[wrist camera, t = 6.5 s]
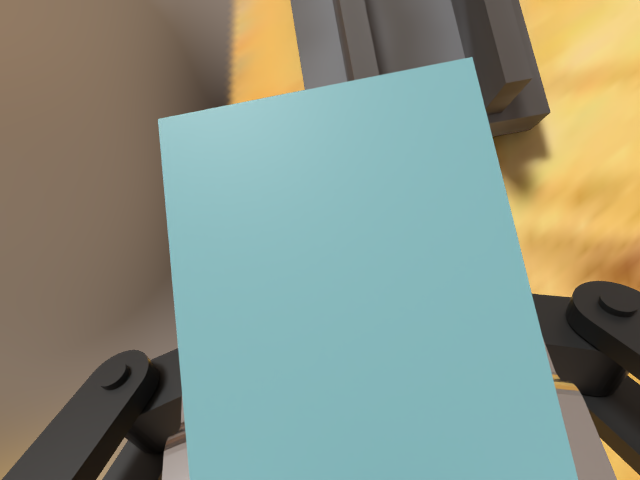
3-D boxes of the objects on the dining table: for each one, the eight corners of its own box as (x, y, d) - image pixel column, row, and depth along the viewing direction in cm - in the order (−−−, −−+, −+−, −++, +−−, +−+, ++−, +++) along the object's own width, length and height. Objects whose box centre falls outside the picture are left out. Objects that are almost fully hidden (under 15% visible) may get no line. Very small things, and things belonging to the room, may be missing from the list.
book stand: (480, -52, 22) (521, -151, 17) (529, 129, 20) (591, 77, 15) (289, -12, 22) (273, -96, 17) (318, 167, 20) (309, 129, 15)
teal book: (379, 227, 16) (472, 56, 4) (402, 349, 15) (607, 597, 3) (298, 241, 16) (157, 119, 4) (316, 361, 15) (203, 634, 3)
